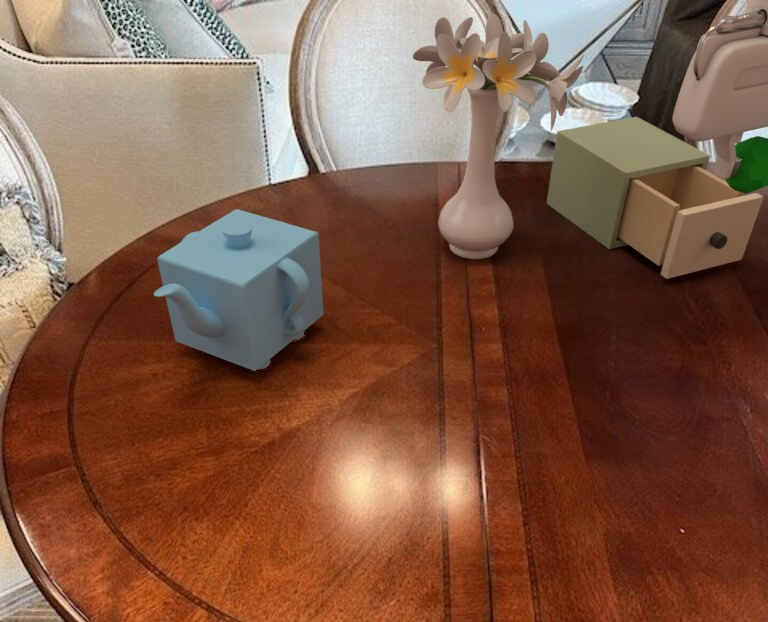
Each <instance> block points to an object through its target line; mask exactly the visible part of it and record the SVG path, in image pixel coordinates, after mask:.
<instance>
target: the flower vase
mask: <svg viewBox="0 0 768 622" xmlns="http://www.w3.org/2000/svg"><path fill="white" fill-rule="evenodd" d="M473 23H474V18H473V17H472V16H469V17H466V18H465V19H464V20H463V21H462V22H461V23H460V24H459V25H458V26H457V28H456V30H455V33H454V32H453V31H454V30H453V27H452V25H451V22H450V21H449V19H448V18H446V17H443V16H442V17H440V18H439V19H438V20H437V21H436V23H435V26H434V39H435V42H436V44H435V45H433V44H431V45H429V44H428V45H424V46H421V47H420V48H418V49H417V50H415V51H414V52H413V54H412V59H413V60H415V61H417V62H431V63H430V64H428V67H427V68H426V70H425V75H424V76H423V77H422V86H423V87H424V88H426V89H428V90H438V89H442V88H446V89H445V92H444V97H443V107H444V109H445V111H446V112H447V113H452V112H454V110H456V108H457V106H458V105H459V102H460V101H461V98H462V96H463V95H462V94H463V91H464V89H465V88H466V92H467V93H468V96H469V103H470V118H471V119H470V120H471V121H470V122H471V123H470V136H469V145H468V155H467V163H466V167H465V173H464V177H463V180H462V182H461V184H460V186H459V188H458V190H457V191H456V193H455V194H454V195H453V196H452V197H451V198H449V199H448V200H447V201H446V203H445V204H444V205H443V206H442V208H441V210H440V212H439V215H438V220H437V221H438V222H437V227H438V228H437V229H438V230H439V232H440V234H441V236H442V238H443V239H444V240H445V241H446V242H447V243H448V247H449V249H450V251H451V252H452V253H453V254H455V255H456V256H458V257H461V258H463V259H467V260H483V259H488V258H490V257H492V256H494V255H496V253H497V252H498V250H499V246H501V245H503V244H504V243H505V242H506V241H507V240H509V237H510V236H511V234H512V233H513V230H514V215H513V212H512V210H511V208H510V207H509V205H508V203H507V202H506V201H505V200H504V198H503V197H502V196H501V194H500V191H499V189H498V185H497V182H496V181H497V180H496V173H495V164H496V163H495V161H496V160H495V159H496V146H497V144H496V143H497V133H498V125H499V119H500V115H501V111H502V112H504V113H506V112H508V111H509V110H510V109H511V107H512V103H513V96H514V97H516V98H517V99H519V100H520V101H521V102H523V103H525V104H526V105H534V104H535V102H536V101H537V96H536V93H535V91H534V89H533V87H532V86H531V85H530V84H529V83H528V82H527V81H531V82H534V83H535V82H536V83H539V84H541V85H543V86H544V87H546V88H547V91H548V98H549V104H550V105H549V107H550V131H551V132H552V131H553V129H554V126H555V123H556V119H557V112H558V115H559V117H562V116H564V113H565V112H566V109H567V105H568V93H567V91H566V89H569V88H570V87H572V86H573V85H574V84H575V83H576V82H577V80H578V79H579V77H580V75H581V74H582V72H583V70H584V65H580V64H581V63H582V60H583V58H584V56H585V54H582V55H581V56H580V57H579V58H578V59H577V60H576V61H575V62H574V63H572V64H571V65H570V66H569V67H568V68H567V69H566V70H564V71H563V72H562V73H560V72H559V70H558V69H557V67H555V66H554V65H553V64H551V63H550V62H548V61H543V60H544V59H545V58H546V56H547V54H548V52H549V45H550V44H549V38H548V36H547V34H546V33H545V32H543V31H542V32H540V33H539V34H538V35H537V36H536V37H535V39H534V41H533V34H532V30H531V27H530V25H529V23H528V21H527V19H524V20H523V23H522V24H523V26H522V27H523V32H519V33H515V34H512V35H510V36H509V34H508V33H507V32H506V31H504V29H503V24H502V22H501V19H500V17H499V16H498V15H497V14H495V13H492V14H490V15H489V16H488V18H487V20H486V23H485V32H484V33H485V42H484V41H483V40H482V39H481V36H480V35H479V34H478V32H477V33H476V32H474V33H472V34H470V35H469V36H468V37H467V35H468V33H469V32H470V29H471V27H472V25H473ZM578 66H579V67H578ZM527 74H529V75H527ZM548 79H549V80H548Z"/></svg>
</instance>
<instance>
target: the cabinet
mask: <svg viewBox="0 0 768 622" xmlns="http://www.w3.org/2000/svg"><path fill="white" fill-rule="evenodd" d="M710 158H711V155H710V154H708V153H706V152H704V151H703V150H700V149H698V148H696V147H695V146H693V145H691V144H689V143H687V142H685V141H684V140H681V139H679V138H678V137H676V136H674V135H672V134H670V133H668V132H666V131H664V130H662V129H661V128H659V127H657V126H655V125H653V124H651V123H650V122H648V121H645V120H644V119H642V118H640V117H638V116H633V117H627V118H621V119H616V120H610V121H606V122H600V123H595V124H588V125H584V126H578V127H572V128H568V129H562V130H557V131H556V138H555V144H554V150H553V156H552V163H551V171H550V176H549V177H550V178H549V185H548V191H547V198H546V205H548V206H549V207H550V208H551V209H553V210H555V211H556V212H557V213H559V214H560V215H561V216H563V217H564V218H566V219H567V220H568V221H569V222H571V223H572V224H574V225H575V226H576V227H578V228H579V229H580V230H582V231H583V232H585V233H586V234H587V235H589V236H590V237H591V238H593V239H594V240H595V241H597V242H598V243H600V244H601V245H603V246H604V247H605V248H606V249H608V250H612V249H616V248H617V249H618V248H620V247H625V246H629V245H628V244H627V243H625V242H624V241H623V240H621V239H620V238H618V237H617V234H618V229H619V225H620V220H621V216H622V211H623V207H624V202H625V198H626V193H627V189H628V184H629V180H630V178H635V177H640V176H644V175H649V174H654V173H659V172H664V171H668V170H673V169H678V168H683V167H687V166H692V165H697V166H699V167H701V168H702V169H704V170H706V171H707V168H708V165H709V161H710Z"/></svg>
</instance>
